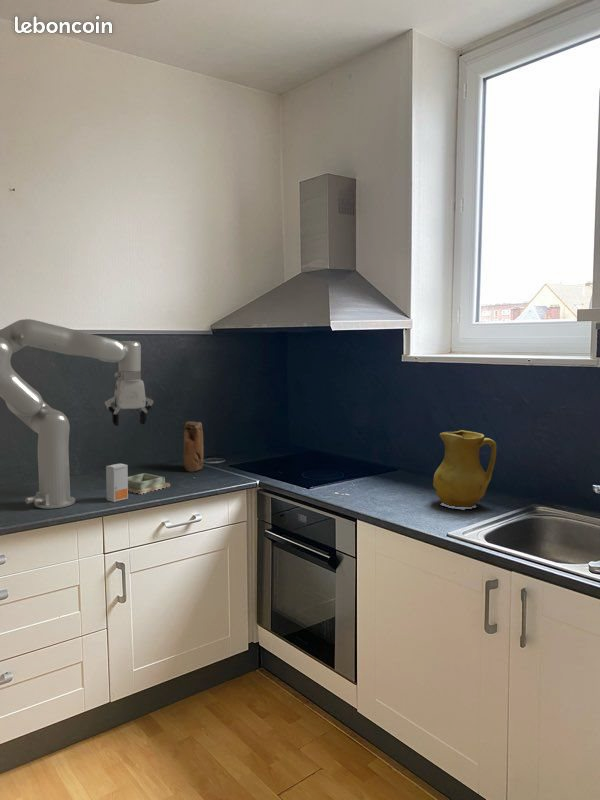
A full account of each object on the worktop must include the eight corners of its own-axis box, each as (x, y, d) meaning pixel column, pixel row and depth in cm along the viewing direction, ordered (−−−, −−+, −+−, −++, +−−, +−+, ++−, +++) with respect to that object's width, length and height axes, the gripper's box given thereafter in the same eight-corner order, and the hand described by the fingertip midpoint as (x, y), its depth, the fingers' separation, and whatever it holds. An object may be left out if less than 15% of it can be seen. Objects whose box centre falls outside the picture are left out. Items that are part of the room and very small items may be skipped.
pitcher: (445, 494, 222) (450, 425, 218) (496, 506, 210) (502, 433, 206) (422, 506, 209) (426, 432, 205) (475, 519, 197) (481, 442, 193)
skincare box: (114, 502, 211) (113, 467, 210) (106, 500, 214) (105, 465, 212) (128, 498, 216) (128, 464, 215) (121, 496, 218) (120, 462, 217)
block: (187, 466, 267) (186, 420, 265) (204, 467, 267) (204, 420, 265) (182, 472, 257) (181, 424, 254) (200, 472, 256) (199, 424, 254)
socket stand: (140, 494, 221) (140, 484, 221) (114, 488, 230) (114, 478, 229) (170, 486, 233) (169, 477, 232) (144, 481, 241) (144, 471, 241)
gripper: (108, 377, 212) (108, 427, 214) (157, 376, 222) (156, 424, 224) (101, 375, 218) (101, 424, 220) (149, 375, 228) (148, 422, 230)
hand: (129, 424), depth 222 cm, fingers open, 9 cm apart
